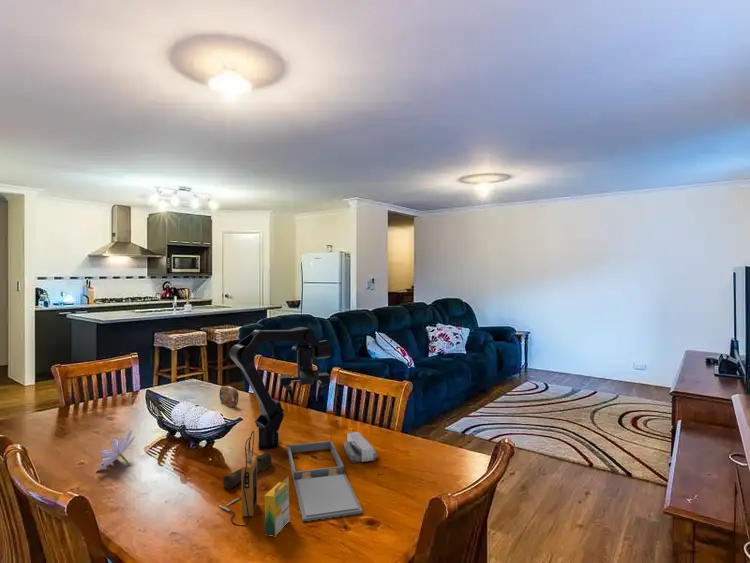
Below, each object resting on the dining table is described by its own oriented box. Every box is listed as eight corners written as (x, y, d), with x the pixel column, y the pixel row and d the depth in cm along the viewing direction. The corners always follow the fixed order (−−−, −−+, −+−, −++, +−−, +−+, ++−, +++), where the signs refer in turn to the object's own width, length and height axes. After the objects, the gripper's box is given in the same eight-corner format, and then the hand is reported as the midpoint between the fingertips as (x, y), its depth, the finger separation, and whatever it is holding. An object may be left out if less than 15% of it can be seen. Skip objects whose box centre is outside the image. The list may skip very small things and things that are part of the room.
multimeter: (223, 497, 127) (222, 426, 126) (259, 496, 128) (259, 425, 127) (208, 527, 112) (207, 447, 112) (249, 526, 113) (249, 445, 113)
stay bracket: (351, 462, 150) (351, 455, 150) (344, 448, 161) (344, 442, 161) (376, 459, 152) (376, 452, 152) (367, 446, 164) (367, 439, 164)
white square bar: (361, 461, 149) (361, 449, 148) (347, 444, 164) (347, 433, 163) (373, 460, 150) (373, 448, 150) (357, 442, 165) (357, 431, 165)
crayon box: (279, 519, 116) (279, 474, 116) (289, 521, 115) (289, 475, 115) (264, 535, 109) (264, 487, 109) (275, 537, 108) (275, 489, 108)
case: (302, 522, 115) (302, 512, 115) (287, 452, 158) (287, 445, 158) (362, 513, 119) (362, 503, 119) (331, 447, 162) (331, 440, 162)
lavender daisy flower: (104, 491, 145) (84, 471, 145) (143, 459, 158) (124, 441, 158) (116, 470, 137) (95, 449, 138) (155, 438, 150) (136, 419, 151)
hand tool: (231, 491, 131) (231, 475, 131) (222, 487, 133) (222, 472, 133) (277, 466, 148) (277, 452, 147) (268, 464, 150) (268, 450, 149)
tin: (219, 402, 218) (218, 384, 217) (225, 400, 220) (225, 383, 219) (233, 409, 206) (233, 390, 206) (239, 407, 209) (239, 389, 208)
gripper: (281, 366, 163) (281, 410, 163) (333, 363, 168) (333, 406, 168) (278, 360, 173) (279, 401, 174) (327, 357, 178) (328, 397, 179)
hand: (304, 401), depth 173 cm, fingers open, 9 cm apart
